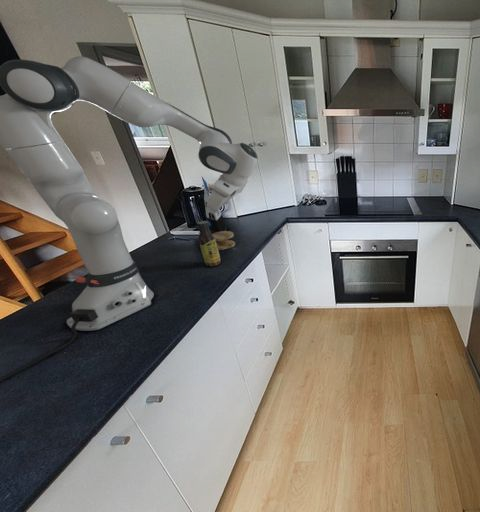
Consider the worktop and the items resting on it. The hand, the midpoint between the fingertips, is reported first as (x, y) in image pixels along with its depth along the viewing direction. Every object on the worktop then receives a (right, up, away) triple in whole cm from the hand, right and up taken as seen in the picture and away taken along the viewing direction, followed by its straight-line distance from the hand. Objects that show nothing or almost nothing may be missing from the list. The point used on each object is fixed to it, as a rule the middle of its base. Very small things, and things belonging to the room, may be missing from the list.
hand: (218, 207), depth 112 cm
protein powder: (-31, -5, +50) cm, 59 cm away
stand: (-15, -15, +30) cm, 37 cm away
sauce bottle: (-9, -24, +12) cm, 28 cm away
